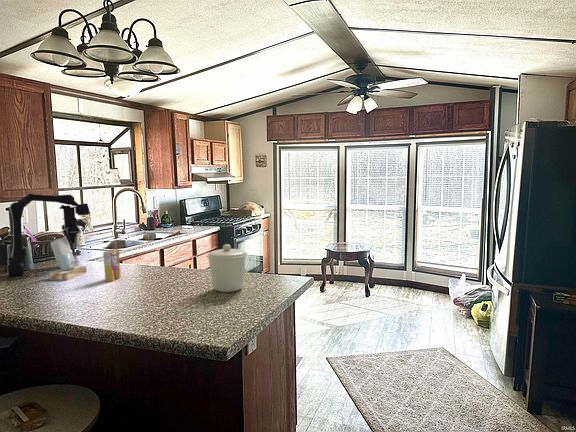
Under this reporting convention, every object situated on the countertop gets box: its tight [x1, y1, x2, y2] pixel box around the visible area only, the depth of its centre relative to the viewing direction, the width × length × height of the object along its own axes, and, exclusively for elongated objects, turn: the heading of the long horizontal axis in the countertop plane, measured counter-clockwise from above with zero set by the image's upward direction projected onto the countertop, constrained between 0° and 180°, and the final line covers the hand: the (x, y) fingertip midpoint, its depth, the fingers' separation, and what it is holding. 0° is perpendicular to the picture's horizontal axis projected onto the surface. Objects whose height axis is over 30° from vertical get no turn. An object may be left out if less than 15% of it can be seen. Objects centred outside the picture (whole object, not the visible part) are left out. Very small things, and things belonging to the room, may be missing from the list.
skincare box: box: [50, 236, 76, 268], centre depth 237 cm, size 8×7×16 cm
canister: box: [206, 243, 248, 293], centre depth 184 cm, size 18×18×21 cm
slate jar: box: [59, 253, 72, 271], centre depth 214 cm, size 5×5×12 cm
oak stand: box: [49, 265, 88, 281], centre depth 214 cm, size 10×16×4 cm, turn 174°
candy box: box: [102, 248, 122, 283], centre depth 205 cm, size 9×4×15 cm, turn 177°
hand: (71, 242), depth 234 cm, fingers open, 9 cm apart
